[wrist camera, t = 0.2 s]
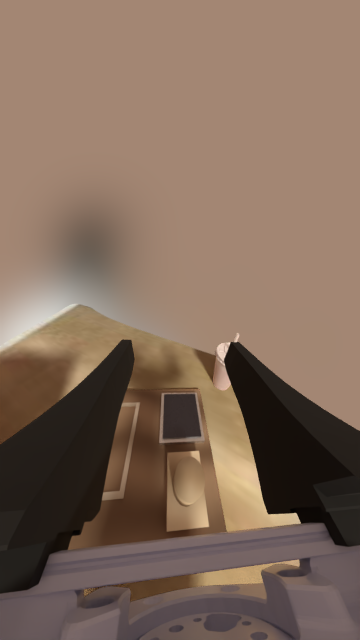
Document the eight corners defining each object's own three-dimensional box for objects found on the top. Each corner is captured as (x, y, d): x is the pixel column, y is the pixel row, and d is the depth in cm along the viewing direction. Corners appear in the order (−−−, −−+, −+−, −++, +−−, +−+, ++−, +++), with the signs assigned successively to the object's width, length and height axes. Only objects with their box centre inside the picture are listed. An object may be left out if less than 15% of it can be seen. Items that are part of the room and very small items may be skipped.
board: (228, 549, 15) (230, 550, 14) (0, 580, 13) (-7, 582, 12) (199, 391, 29) (199, 388, 29) (91, 392, 27) (90, 390, 27)
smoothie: (223, 367, 35) (241, 323, 28) (240, 390, 30) (268, 344, 23) (201, 374, 33) (214, 328, 25) (217, 400, 28) (238, 353, 20)
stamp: (206, 526, 15) (218, 526, 12) (166, 531, 15) (168, 532, 12) (197, 454, 20) (204, 439, 17) (167, 456, 20) (168, 441, 17)
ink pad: (203, 442, 22) (205, 439, 21) (159, 445, 21) (159, 442, 20) (196, 395, 28) (197, 391, 27) (161, 395, 27) (161, 391, 26)
